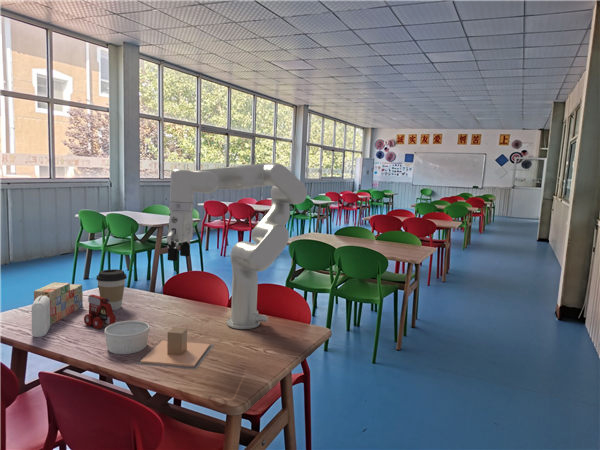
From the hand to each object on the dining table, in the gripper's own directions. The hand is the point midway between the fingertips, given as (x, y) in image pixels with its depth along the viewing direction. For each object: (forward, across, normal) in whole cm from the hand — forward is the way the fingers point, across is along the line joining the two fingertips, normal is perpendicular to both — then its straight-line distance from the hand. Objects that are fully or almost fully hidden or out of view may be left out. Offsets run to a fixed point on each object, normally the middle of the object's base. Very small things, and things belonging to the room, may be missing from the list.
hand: (178, 258), depth 142 cm
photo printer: (+29, -6, +45) cm, 54 cm away
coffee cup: (+28, +24, +38) cm, 53 cm away
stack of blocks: (+29, +12, +51) cm, 60 cm away
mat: (+28, -12, -6) cm, 31 cm away
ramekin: (+28, -11, +11) cm, 33 cm away
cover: (+27, -12, -6) cm, 31 cm away
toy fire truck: (+28, +6, +31) cm, 42 cm away
